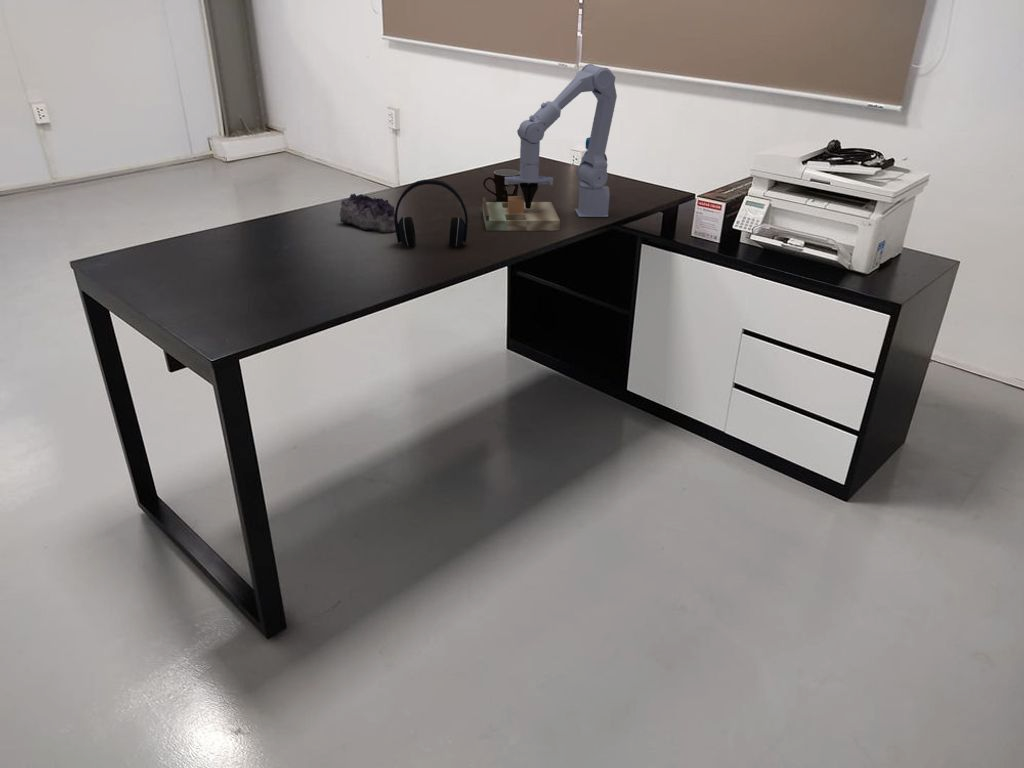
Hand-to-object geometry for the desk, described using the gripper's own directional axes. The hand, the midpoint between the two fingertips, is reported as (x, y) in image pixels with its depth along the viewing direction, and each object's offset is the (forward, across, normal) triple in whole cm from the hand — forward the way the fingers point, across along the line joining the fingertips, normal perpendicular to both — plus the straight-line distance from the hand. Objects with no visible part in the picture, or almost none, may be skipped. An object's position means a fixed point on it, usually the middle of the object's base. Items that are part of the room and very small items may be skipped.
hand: (527, 207), depth 236 cm
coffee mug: (+4, +6, -20) cm, 21 cm away
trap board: (+4, +2, 0) cm, 5 cm away
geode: (+4, +47, +4) cm, 48 cm away
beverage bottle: (+4, -25, -24) cm, 35 cm away
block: (+1, +4, 0) cm, 4 cm away
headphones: (+4, +29, +23) cm, 38 cm away
